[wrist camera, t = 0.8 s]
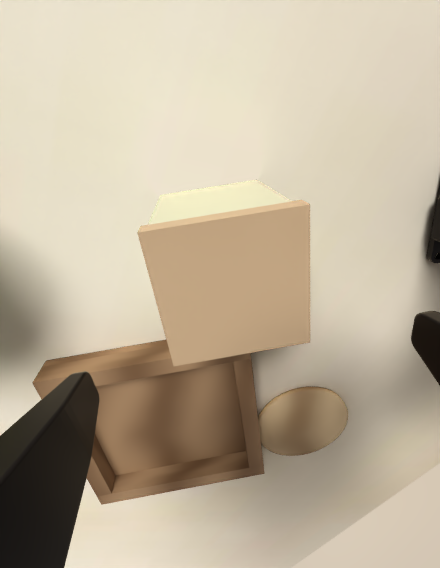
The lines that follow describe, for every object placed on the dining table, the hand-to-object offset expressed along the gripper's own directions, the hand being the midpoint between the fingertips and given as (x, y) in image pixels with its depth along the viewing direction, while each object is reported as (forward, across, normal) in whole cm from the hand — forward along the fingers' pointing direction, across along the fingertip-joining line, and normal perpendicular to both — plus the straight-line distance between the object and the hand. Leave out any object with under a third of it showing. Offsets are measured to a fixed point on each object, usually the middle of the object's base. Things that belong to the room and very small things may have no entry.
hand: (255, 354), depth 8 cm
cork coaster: (+11, -5, +18) cm, 22 cm away
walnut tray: (+11, +6, +14) cm, 19 cm away
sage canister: (+11, 0, 0) cm, 11 cm away
